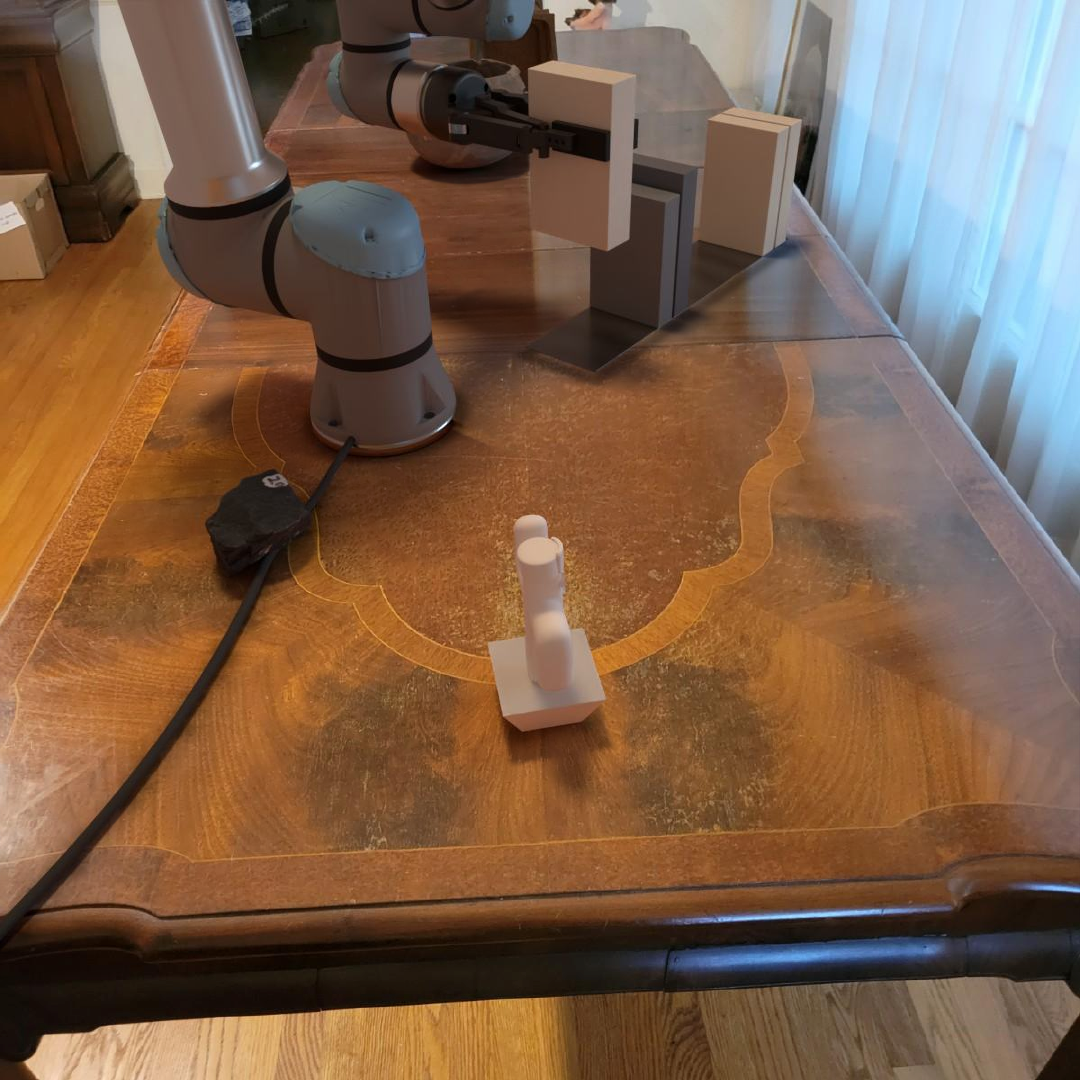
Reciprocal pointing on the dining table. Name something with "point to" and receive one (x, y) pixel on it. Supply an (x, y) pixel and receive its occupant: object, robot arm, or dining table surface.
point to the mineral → (256, 521)
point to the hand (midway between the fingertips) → (621, 140)
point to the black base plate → (609, 335)
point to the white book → (576, 182)
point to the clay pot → (473, 154)
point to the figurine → (544, 642)
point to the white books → (748, 179)
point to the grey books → (650, 247)
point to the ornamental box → (523, 44)
